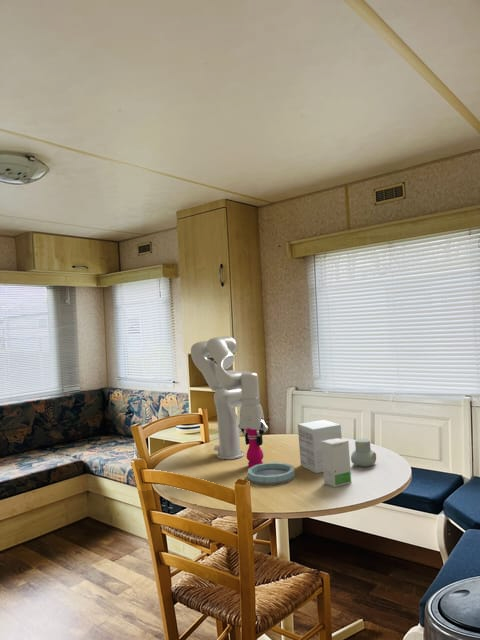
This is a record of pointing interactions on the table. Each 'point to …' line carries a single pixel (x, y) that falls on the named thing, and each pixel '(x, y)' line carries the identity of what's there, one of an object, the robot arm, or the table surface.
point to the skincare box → (336, 462)
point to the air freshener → (363, 454)
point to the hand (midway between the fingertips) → (254, 444)
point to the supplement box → (315, 442)
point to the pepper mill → (253, 449)
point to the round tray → (271, 473)
